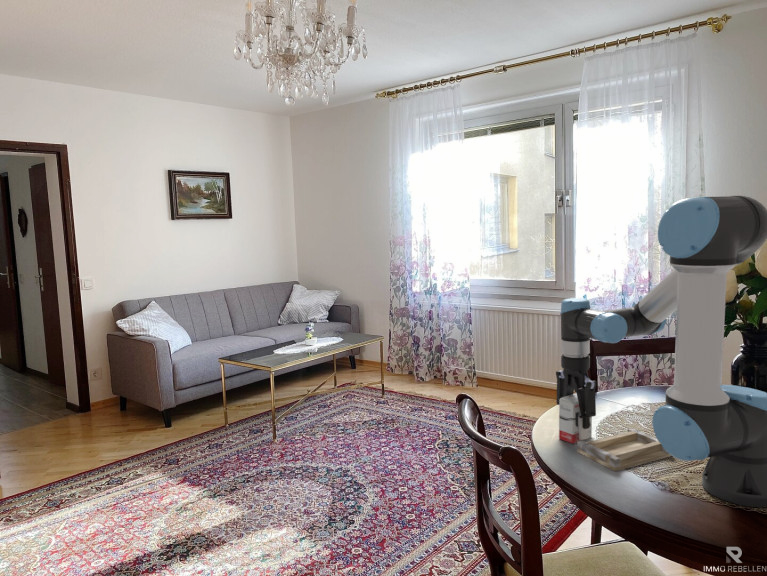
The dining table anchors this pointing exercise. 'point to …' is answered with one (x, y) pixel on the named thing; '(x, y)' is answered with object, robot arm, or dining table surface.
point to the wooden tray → (623, 450)
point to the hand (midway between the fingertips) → (575, 434)
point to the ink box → (570, 419)
